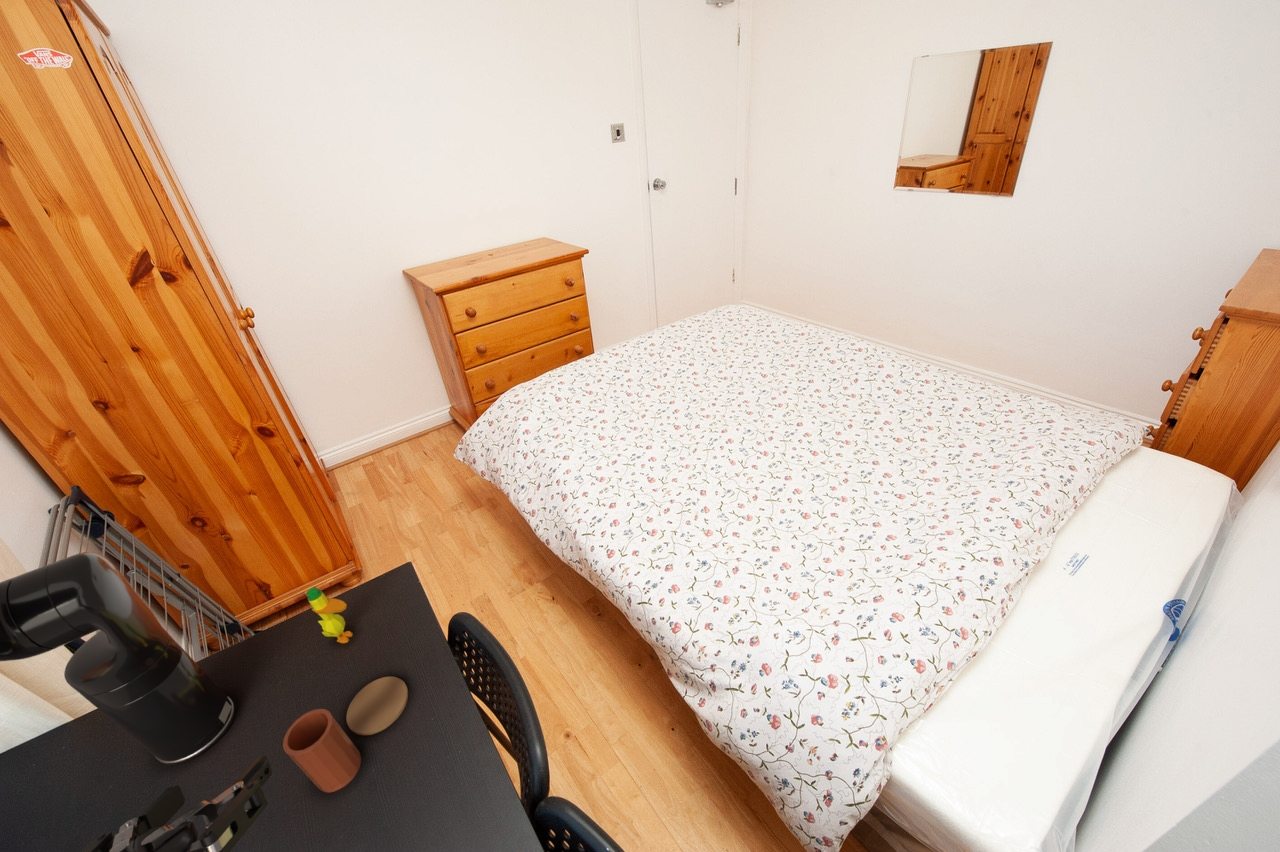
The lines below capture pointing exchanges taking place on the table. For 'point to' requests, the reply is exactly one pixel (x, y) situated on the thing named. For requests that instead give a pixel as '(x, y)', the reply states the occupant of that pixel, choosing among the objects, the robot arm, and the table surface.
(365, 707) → the trivet
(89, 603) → the robot arm
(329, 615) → the toy figure
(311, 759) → the pot
